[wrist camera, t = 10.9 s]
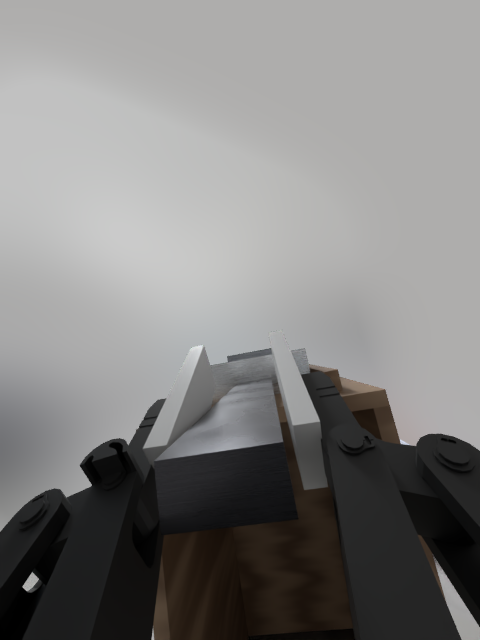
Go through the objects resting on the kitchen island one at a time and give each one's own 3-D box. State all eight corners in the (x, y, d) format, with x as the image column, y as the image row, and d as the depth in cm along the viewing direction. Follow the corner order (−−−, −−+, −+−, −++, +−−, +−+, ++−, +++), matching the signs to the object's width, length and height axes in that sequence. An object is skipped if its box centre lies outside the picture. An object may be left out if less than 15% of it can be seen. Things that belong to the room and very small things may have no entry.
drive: (17, 552, 5) (18, 365, 6) (229, 386, 34) (224, 358, 35) (480, 498, 4) (409, 288, 5) (294, 375, 33) (288, 346, 34)
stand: (196, 1112, 10) (134, 407, 16) (242, 618, 30) (207, 379, 36) (605, 1160, 9) (378, 365, 15) (372, 607, 28) (314, 360, 34)
